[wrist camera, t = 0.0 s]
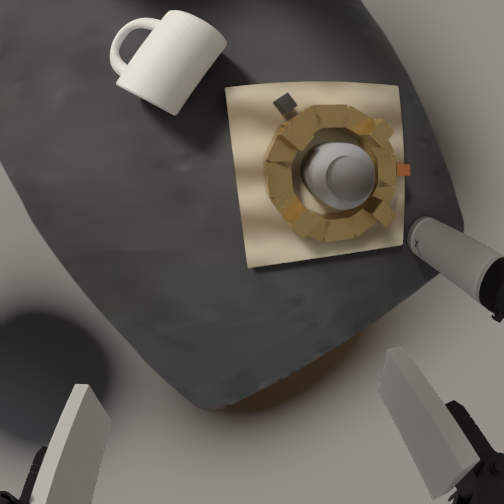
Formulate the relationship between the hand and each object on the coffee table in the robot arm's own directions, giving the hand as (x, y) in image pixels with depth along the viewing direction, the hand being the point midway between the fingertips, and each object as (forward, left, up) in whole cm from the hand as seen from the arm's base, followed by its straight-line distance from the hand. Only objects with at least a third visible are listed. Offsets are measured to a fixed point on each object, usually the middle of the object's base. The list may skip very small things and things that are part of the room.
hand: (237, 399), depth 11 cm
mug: (-21, -5, -28) cm, 36 cm away
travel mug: (+6, +29, -28) cm, 41 cm away
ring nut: (-5, +14, -26) cm, 29 cm away
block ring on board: (-5, +13, -28) cm, 31 cm away
